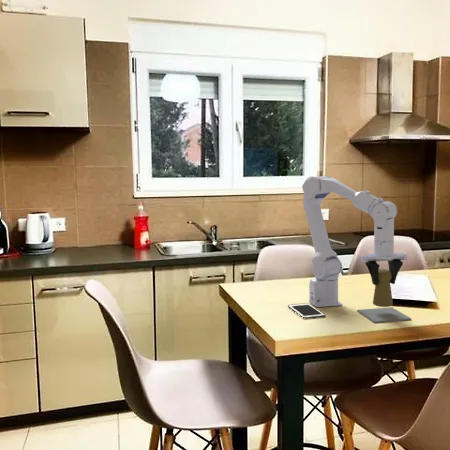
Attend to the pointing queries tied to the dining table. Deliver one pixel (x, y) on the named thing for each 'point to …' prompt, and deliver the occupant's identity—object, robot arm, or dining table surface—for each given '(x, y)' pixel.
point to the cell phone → (306, 310)
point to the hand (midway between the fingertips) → (383, 283)
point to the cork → (383, 289)
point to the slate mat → (383, 315)
